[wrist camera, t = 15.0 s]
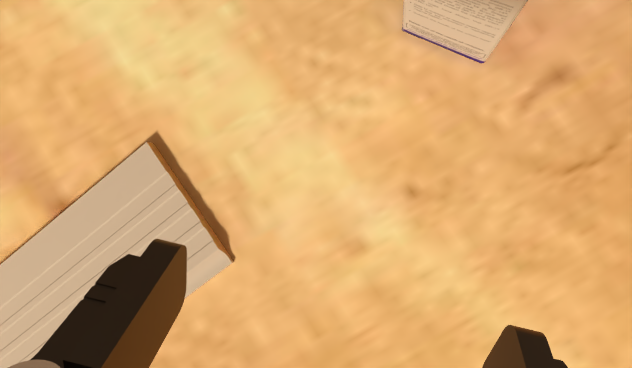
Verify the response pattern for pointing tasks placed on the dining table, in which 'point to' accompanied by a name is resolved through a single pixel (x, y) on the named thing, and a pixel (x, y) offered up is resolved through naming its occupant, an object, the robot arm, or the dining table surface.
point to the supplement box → (461, 23)
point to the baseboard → (100, 249)
